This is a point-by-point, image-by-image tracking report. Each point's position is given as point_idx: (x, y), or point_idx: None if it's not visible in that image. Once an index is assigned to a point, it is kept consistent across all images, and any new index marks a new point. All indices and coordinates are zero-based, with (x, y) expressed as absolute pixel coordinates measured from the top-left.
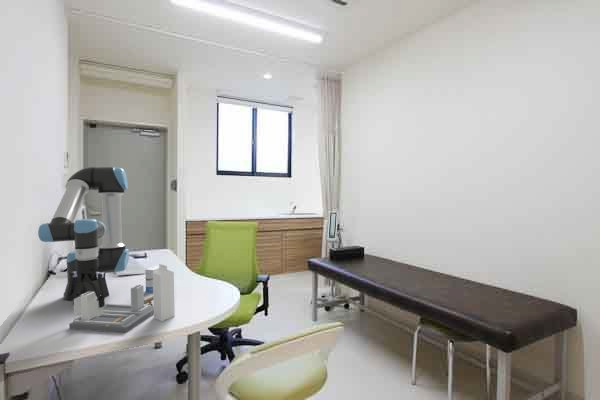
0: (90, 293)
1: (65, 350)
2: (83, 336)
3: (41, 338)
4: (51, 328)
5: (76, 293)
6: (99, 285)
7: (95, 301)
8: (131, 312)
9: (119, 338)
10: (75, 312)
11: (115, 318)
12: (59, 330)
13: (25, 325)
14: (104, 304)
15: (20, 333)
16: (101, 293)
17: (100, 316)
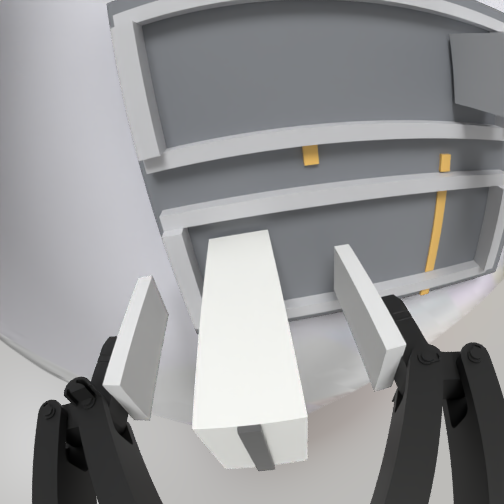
0: (293, 445)
1: (353, 387)
2: (340, 333)
3: (185, 379)
4: (113, 327)
5: (139, 459)
6: (458, 501)
7: (287, 319)
8: (476, 137)
9: (474, 294)
10: (162, 329)
11: (416, 209)
12: (170, 332)
13: (9, 324)
14: (403, 303)
15: (72, 366)
16: (450, 424)
17: (289, 210)
